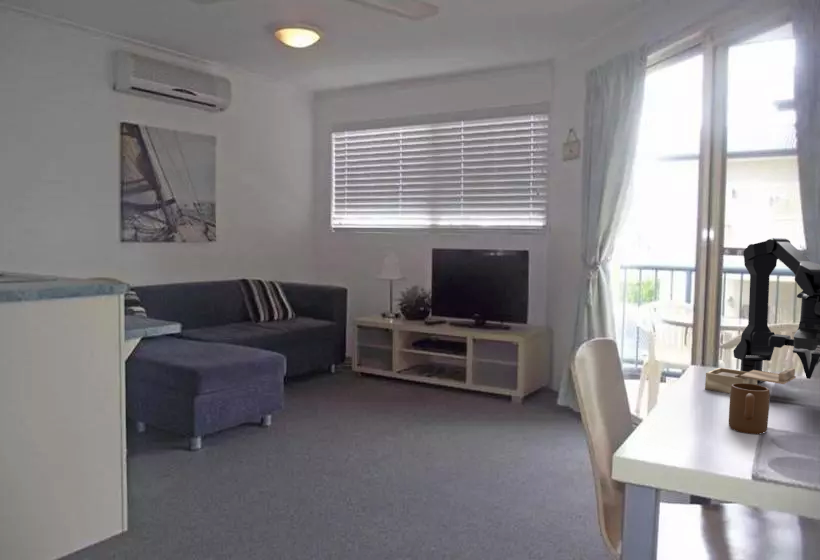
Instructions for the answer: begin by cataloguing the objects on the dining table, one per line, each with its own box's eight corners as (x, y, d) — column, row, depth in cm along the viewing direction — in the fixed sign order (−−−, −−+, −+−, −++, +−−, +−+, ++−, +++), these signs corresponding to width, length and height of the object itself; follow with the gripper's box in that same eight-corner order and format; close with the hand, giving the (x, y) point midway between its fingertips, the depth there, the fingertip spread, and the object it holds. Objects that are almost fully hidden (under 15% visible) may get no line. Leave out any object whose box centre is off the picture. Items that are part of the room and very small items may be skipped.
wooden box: (718, 383, 192) (719, 367, 192) (756, 389, 185) (757, 373, 185) (704, 389, 184) (705, 372, 184) (744, 396, 177) (745, 379, 177)
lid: (753, 371, 186) (753, 362, 186) (795, 377, 179) (796, 368, 179) (740, 377, 178) (740, 367, 178) (784, 384, 171) (784, 374, 171)
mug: (768, 442, 137) (771, 397, 137) (727, 436, 141) (729, 392, 140) (766, 428, 148) (769, 385, 147) (728, 422, 151) (731, 381, 151)
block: (738, 387, 186) (739, 374, 185) (732, 389, 182) (733, 376, 182) (721, 384, 189) (722, 371, 188) (715, 386, 185) (716, 374, 185)
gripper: (763, 316, 171) (759, 376, 172) (850, 324, 159) (845, 390, 160) (776, 312, 179) (772, 370, 181) (859, 320, 167) (854, 383, 168)
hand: (808, 378), depth 172 cm, fingers closed
